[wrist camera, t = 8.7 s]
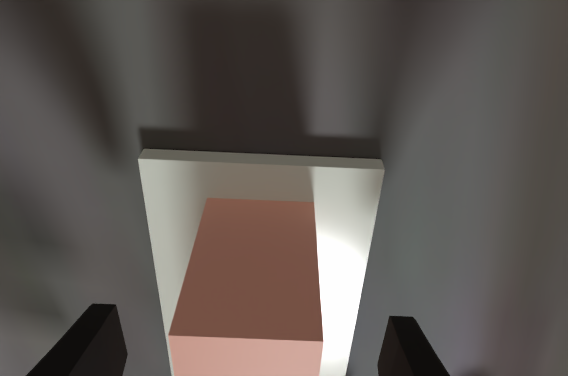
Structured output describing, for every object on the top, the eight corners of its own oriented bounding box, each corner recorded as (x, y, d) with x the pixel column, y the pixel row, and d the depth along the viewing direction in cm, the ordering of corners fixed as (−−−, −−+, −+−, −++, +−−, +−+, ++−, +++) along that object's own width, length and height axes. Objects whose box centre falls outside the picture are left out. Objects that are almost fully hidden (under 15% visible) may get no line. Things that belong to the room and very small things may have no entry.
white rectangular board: (381, 159, 13) (384, 169, 13) (335, 408, 20) (336, 421, 20) (143, 148, 13) (137, 158, 13) (180, 402, 20) (178, 415, 20)
